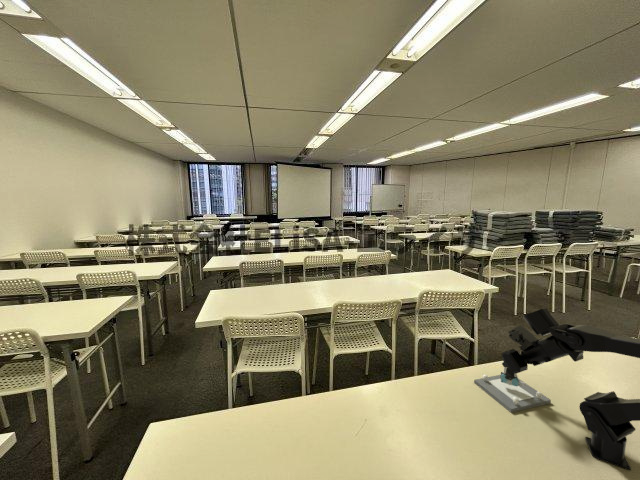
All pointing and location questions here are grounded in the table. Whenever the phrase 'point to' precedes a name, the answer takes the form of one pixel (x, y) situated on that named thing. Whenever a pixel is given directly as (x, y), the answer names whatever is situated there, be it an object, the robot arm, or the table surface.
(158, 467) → the table surface
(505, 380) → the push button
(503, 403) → the mounting base
